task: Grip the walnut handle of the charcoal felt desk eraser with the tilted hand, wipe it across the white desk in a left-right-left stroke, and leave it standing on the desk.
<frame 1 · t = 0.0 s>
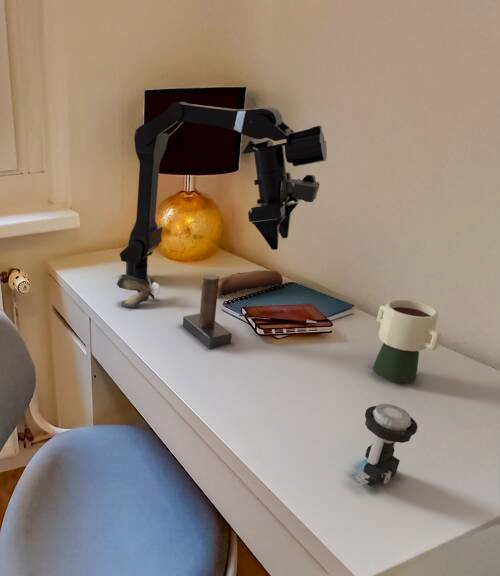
hand: (280, 243, 99), 15 cm above the table, tool pointing down, fingers open, 9 cm apart
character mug: (392, 376, 79), on the table
sunglasses case: (241, 288, 116), on the table
eagle figurine: (138, 302, 111), on the table
push button: (371, 478, 59), on the table
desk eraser: (205, 335, 94), on the table
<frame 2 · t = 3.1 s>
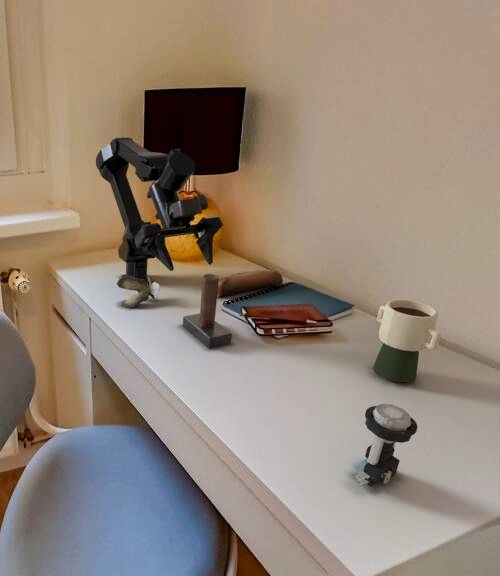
hand: (191, 267, 95), 13 cm above the table, tool tilted 45°, fingers open, 9 cm apart
nothing on the table moved.
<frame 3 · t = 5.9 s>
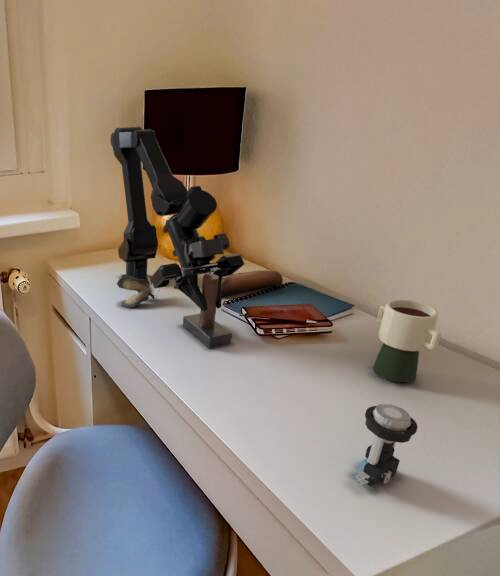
hand: (212, 309, 91), 7 cm above the table, tool tilted 45°, fingers closed on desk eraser, 3 cm apart
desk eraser: (205, 335, 94), on the table, touching gripper
everything else where it was.
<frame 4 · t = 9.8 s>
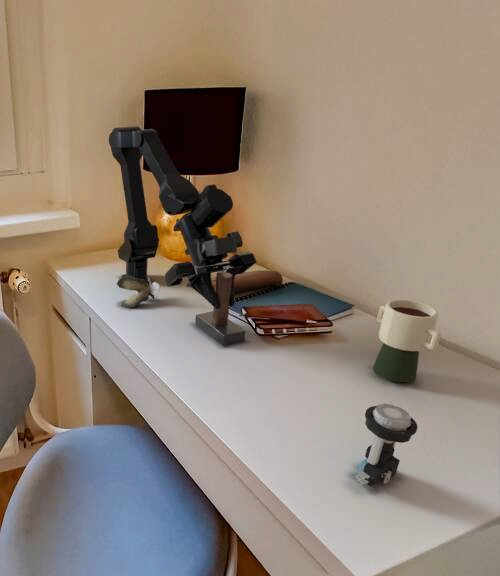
hand: (225, 307, 91), 7 cm above the table, tool tilted 45°, fingers closed on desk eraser, 3 cm apart
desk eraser: (218, 333, 95), on the table, touching gripper
everything else where it was.
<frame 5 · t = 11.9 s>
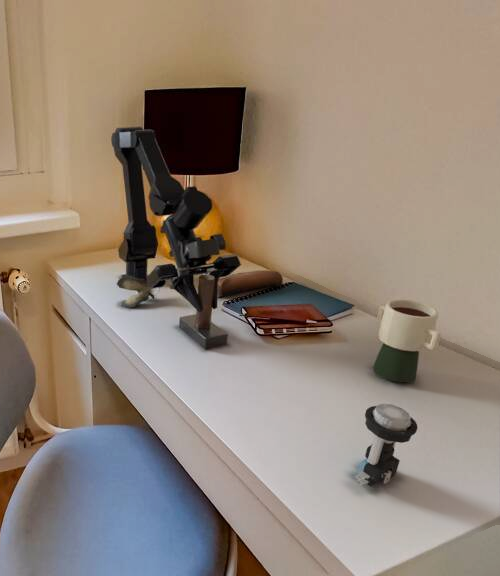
hand: (208, 309, 90), 7 cm above the table, tool tilted 45°, fingers closed on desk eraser, 3 cm apart
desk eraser: (201, 336, 94), on the table, touching gripper
everything else where it was.
when the fingers open (7 cm above the table, at t = 13.6 s): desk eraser stays where it is, on the table.
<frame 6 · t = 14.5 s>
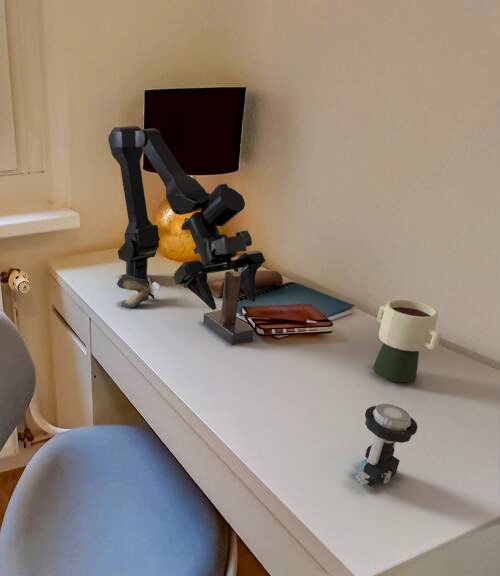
hand: (234, 305, 92), 7 cm above the table, tool tilted 45°, fingers open, 9 cm apart
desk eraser: (226, 331, 95), on the table
everything else where it was.
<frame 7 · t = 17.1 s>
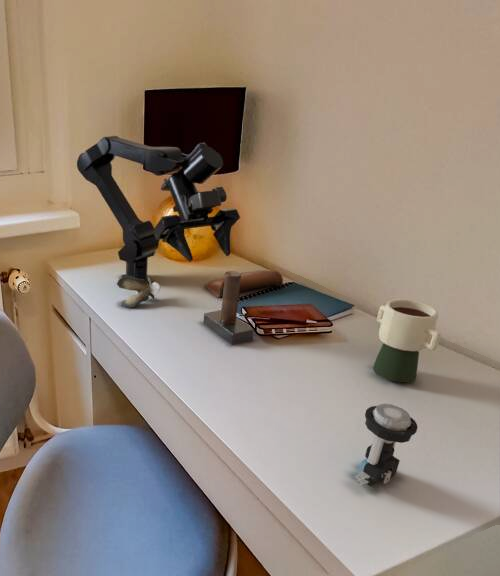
hand: (210, 258, 97), 14 cm above the table, tool tilted 45°, fingers open, 9 cm apart
nothing on the table moved.
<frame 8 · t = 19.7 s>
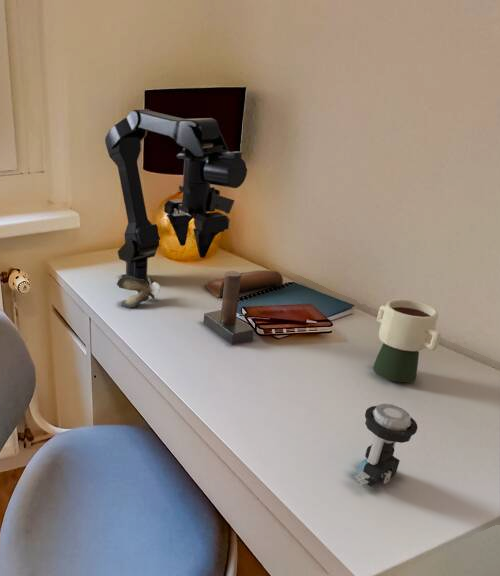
hand: (192, 251, 104), 13 cm above the table, tool pointing down, fingers open, 9 cm apart
nothing on the table moved.
at the end: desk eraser inside the target area (0.1 cm from its centre), on the table; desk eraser moved 4.9 cm from its start; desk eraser tilted 0° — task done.
